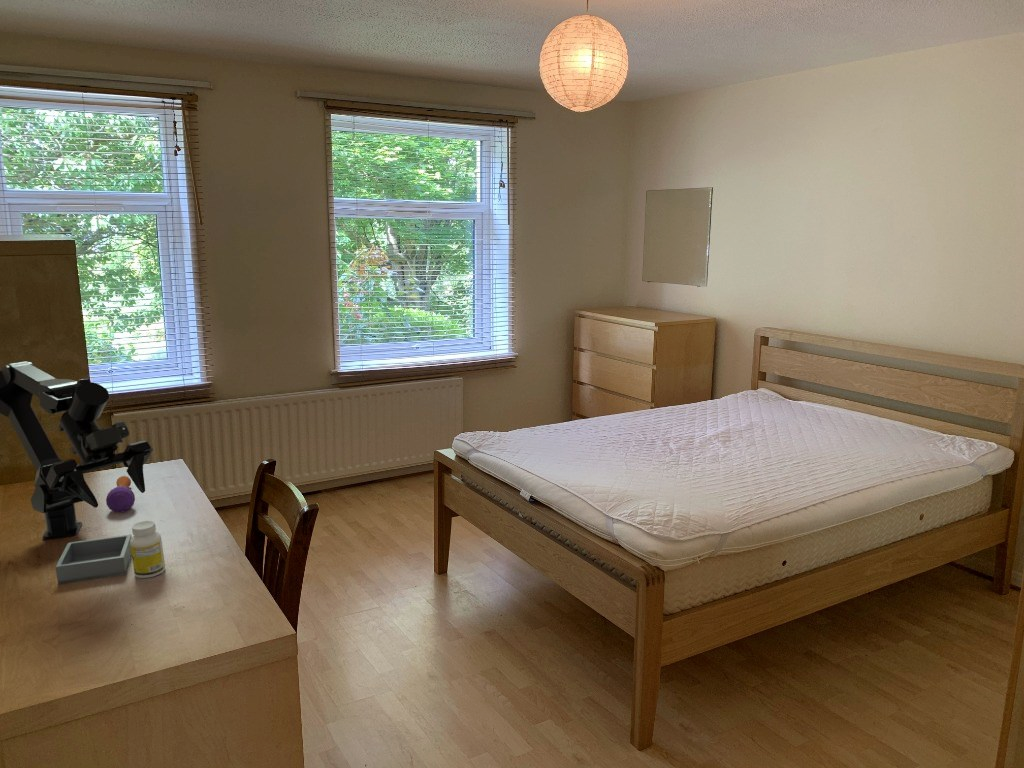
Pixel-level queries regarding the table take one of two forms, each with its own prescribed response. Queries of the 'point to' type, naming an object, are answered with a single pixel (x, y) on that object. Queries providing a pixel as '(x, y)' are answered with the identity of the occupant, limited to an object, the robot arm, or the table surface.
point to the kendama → (121, 496)
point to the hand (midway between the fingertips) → (120, 498)
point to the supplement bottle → (147, 550)
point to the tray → (94, 559)
